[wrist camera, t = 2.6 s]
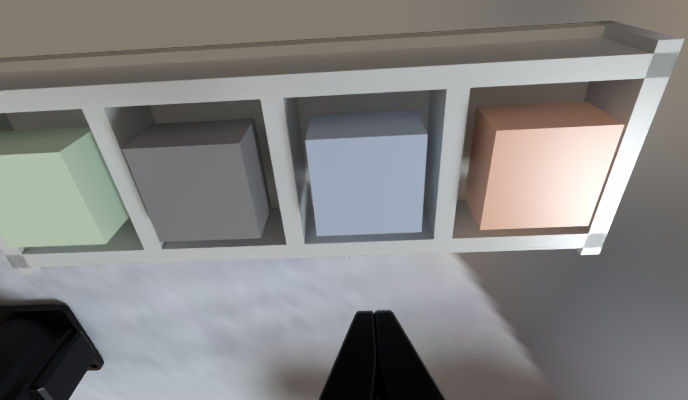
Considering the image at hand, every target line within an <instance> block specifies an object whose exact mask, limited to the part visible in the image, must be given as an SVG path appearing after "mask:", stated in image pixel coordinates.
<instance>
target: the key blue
mask: <svg viewBox="0 0 688 400" xmlns="http://www.w3.org/2000/svg"><path fill="white" fill-rule="evenodd" d="M427 138H428V134H427V131H426V129H425V127H424V124H423V122H422V120H421V117H420V115H419V113H418V110H409V111H390V112H371V113H352V114H332V115H313V116H311V118H310V122H309V126H308V130H307V134H306V139H305V143H306V152H307V160H308V168H309V176H310V184H311V192H312V200H313V208H314V216H315V224H316V232H317V236H335V235H362V234H388V233H414V232H422V216H423V201H424V185H425V169H426V154H427Z"/></svg>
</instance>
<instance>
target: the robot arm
mask: <svg viewBox="0 0 688 400" xmlns="http://www.w3.org/2000/svg"><path fill="white" fill-rule="evenodd" d="M103 364H104V361H103V359H102V358H101V356H100V355H99V353H98V352H97V350H96V349H95V347H94V346H93V344H92V342H91V341H90V339H89V338H88V336H87V335H86V333H85V332H84V330H83V329H82V327H81V326H80V324H79V323H78V321H77V320H76V318H75V316H74V315H73V313H72V312H71V310H70V309H69V308H67V307H65V306H62V305H53V306H20V307H0V400H69V398H70V396H71V395H72V393H73V392H74V390H75V389H76V387H77V385H78V384H79V382H80V381H81V379H82V378H83V376H84V374H85V373H86V371H88V370H100V369H101V368H102V366H103ZM319 400H446V399H445V398H444V396H443V394H442V393H441V391H440V389H439V388H438V386H437V384H436V383H435V381H434V379H433V378H432V376H431V375H430V373H429V371H428V370H427V368H426V366H425V365H424V363H423V361H422V360H421V358H420V356H419V355H418V353H417V351H416V350H415V348H414V346H413V345H412V343H411V342H410V340H409V338H408V337H407V335H406V333H405V332H404V330H403V328H402V327H401V325H400V323H399V322H398V320H397V318H396V317H395V315H394V314H393V312H392V311H390V310H377V311H375V313H374V312H373V311H358V312H357V313H356V314H355V316H354V318H353V321H352V323H351V325H350V328H349V330H348V332H347V335H346V337H345V339H344V342H343V344H342V346H341V349H340V351H339V353H338V355H337V358H336V360H335V362H334V365H333V367H332V369H331V372H330V374H329V376H328V379H327V381H326V383H325V386H324V388H323V390H322V393H321V395H320V397H319Z"/></svg>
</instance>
